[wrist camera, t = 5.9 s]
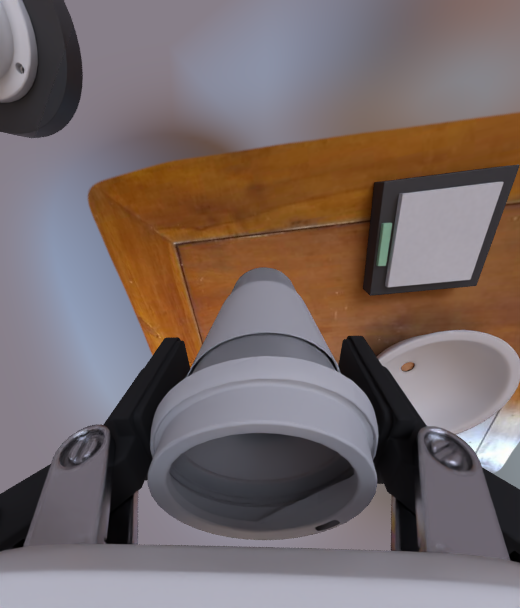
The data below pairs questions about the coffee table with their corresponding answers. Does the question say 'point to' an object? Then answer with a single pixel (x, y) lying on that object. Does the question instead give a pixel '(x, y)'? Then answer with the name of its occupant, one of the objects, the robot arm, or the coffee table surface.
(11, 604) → the robot arm
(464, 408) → the white sink basin
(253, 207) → the coffee table surface
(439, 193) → the scale
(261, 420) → the cup
